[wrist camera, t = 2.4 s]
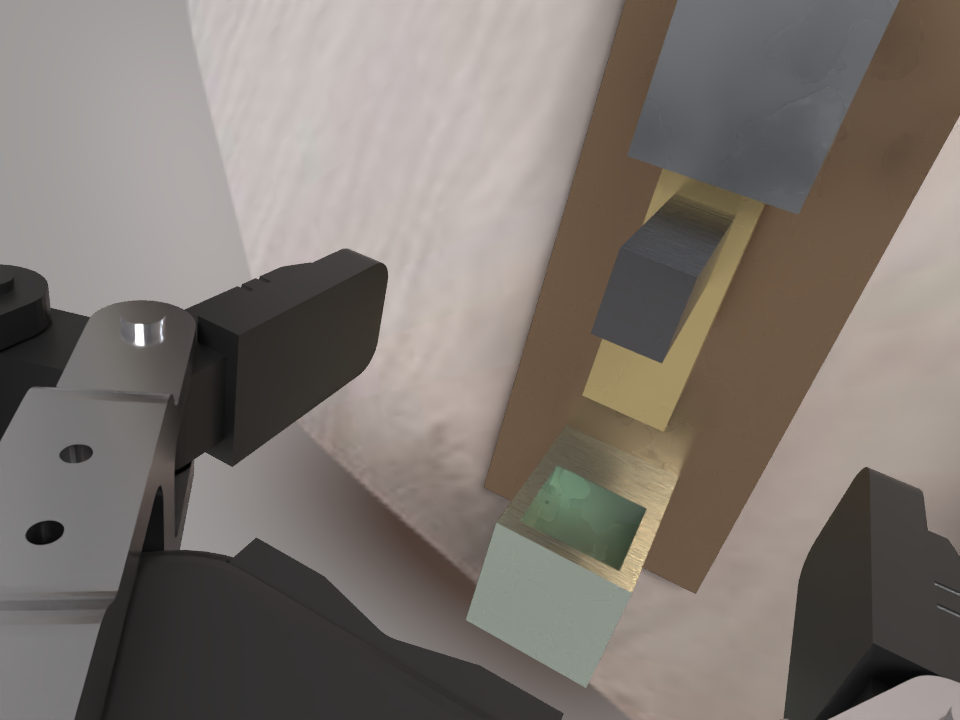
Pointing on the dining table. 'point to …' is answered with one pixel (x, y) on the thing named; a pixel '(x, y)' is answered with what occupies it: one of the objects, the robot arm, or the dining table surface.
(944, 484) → the dining table surface
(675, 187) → the rod
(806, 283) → the multicoloured piece
